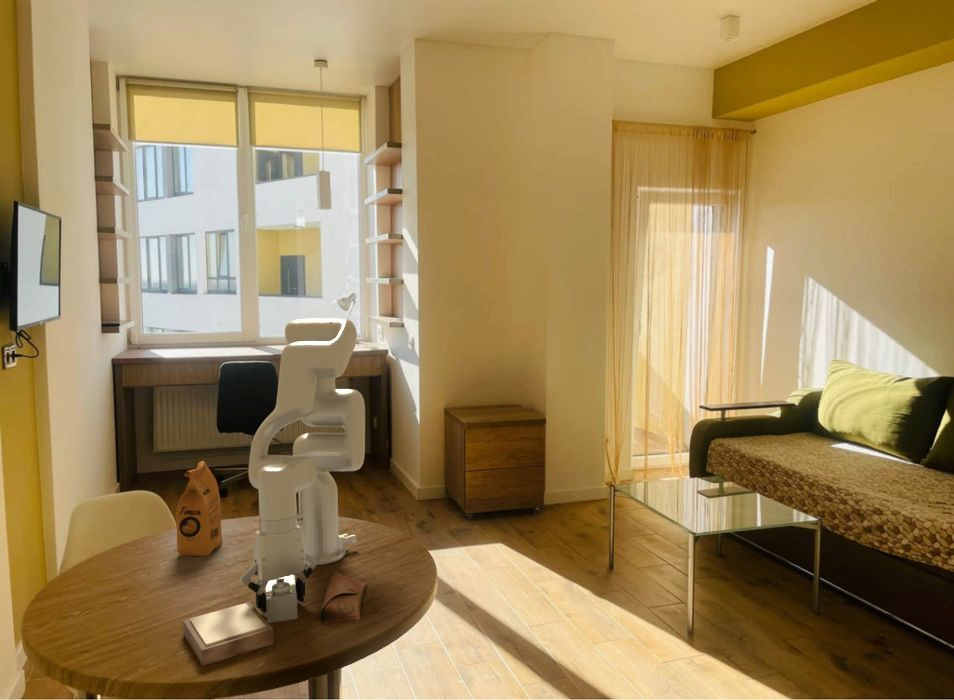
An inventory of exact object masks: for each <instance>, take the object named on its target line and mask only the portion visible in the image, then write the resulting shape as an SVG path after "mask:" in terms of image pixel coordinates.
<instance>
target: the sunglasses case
mask: <svg viewBox="0 0 954 700" xmlns="http://www.w3.org/2000/svg"><path fill="white" fill-rule="evenodd" d="M366 585H368V583H367V582H364V581H361V580H358V579H356V578H352V577H349V576H346V575H343V574H341V573H340V572H338V571H334V572H333V574H332V575H331V577H330V579H329V583H328V585H327V587H326V588H327V589H326V591H325V595H324V598H323V601H322V604H321V607H320V609H321V610H320V613H319V619H320V620H321V621H322V622H323V623H324V622H341V621H353V620H361V606H362V601H363V597H364V594H365V593H364V592H365V591H366V588H367V586H366Z"/></svg>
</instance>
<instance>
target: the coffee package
mask: <svg viewBox="0 0 954 700" xmlns="http://www.w3.org/2000/svg"><path fill="white" fill-rule="evenodd" d="M183 476H184V477H185V478H188V479H189V480H188V482H187V485H186V488H185V491H184V493H183V494H182V496H181V497H180V499H179V501H178V503H177V507H176V511H175V525H176V526H175V527H176V551H177V552H178V554H179V556H180V557H185V556H187V557H195V556H196V557H206V556H210V554H211V553H212V552H213V550H215V549H217V548H219V546H220V545H221V544H222V540H223V537H222V535H223V533H222V505H221V497H220V491H219V486H218V481H217V480H216V478H215V475H213V473H212V472H211V470H210V468H209V467H208V466H207V464H206V462H205V461H204V460H202V461H200V462H198V463H197V467H196V468H194V469H190V470H186V472H185V473H184V474H183Z"/></svg>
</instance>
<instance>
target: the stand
mask: <svg viewBox="0 0 954 700" xmlns="http://www.w3.org/2000/svg"><path fill="white" fill-rule="evenodd" d="M182 625H183V626H182V627H183V628H182V629H183V636H184V638H185V639H186V641H187V643H188V644H189V646H190V648H191V649H192V652H194V654H195V656H196V657H197V659H198V660H199V663H200V664H201V666H202V667H205V666H207V665H211V664H215V663H217V662H221V661H223V660H226V659H227V660H228V659H230V658H233V657H236V656H238V655H243V654H246V653H249V652H251V651H255V650H258V649H261V648H264V647H268V646H271V645H273V644H275V643H274V628H273V626H271V625H270V623H268V622H267V619H266V618H264V616H262V615H261V613H260V612H259V611H258V610H257V609H256V608H255V606H253V604H252V603H251V602H250V601H247V602H244V603H240V604H236V605H233V606H229V607H225V608H223V609H219V610H214V611H212V612H208V613H204V614H201V615H197V616H194V617H190V618H185V619H182Z"/></svg>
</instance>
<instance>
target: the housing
mask: <svg viewBox="0 0 954 700" xmlns="http://www.w3.org/2000/svg"><path fill="white" fill-rule="evenodd" d="M295 580H296V577H295V575H292V576H288V577H285V578H281V579H277V580H273V581H269V582H268V584H267V586H266V588H265V594H266V608H267V611H266V621H267V622H268V624H271V623H277V622H283V621H284V622H285V621H289V620H290V621H291V620H296V619H298V600H297V593H296V586H295Z"/></svg>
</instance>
